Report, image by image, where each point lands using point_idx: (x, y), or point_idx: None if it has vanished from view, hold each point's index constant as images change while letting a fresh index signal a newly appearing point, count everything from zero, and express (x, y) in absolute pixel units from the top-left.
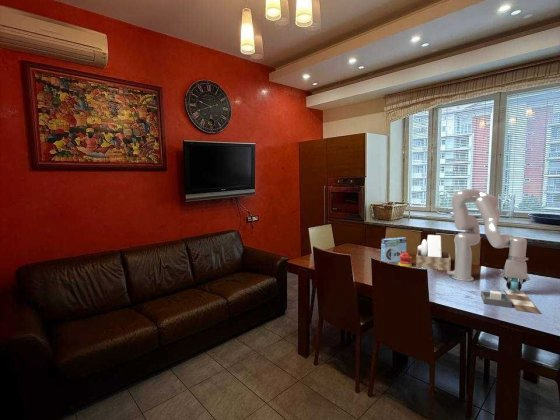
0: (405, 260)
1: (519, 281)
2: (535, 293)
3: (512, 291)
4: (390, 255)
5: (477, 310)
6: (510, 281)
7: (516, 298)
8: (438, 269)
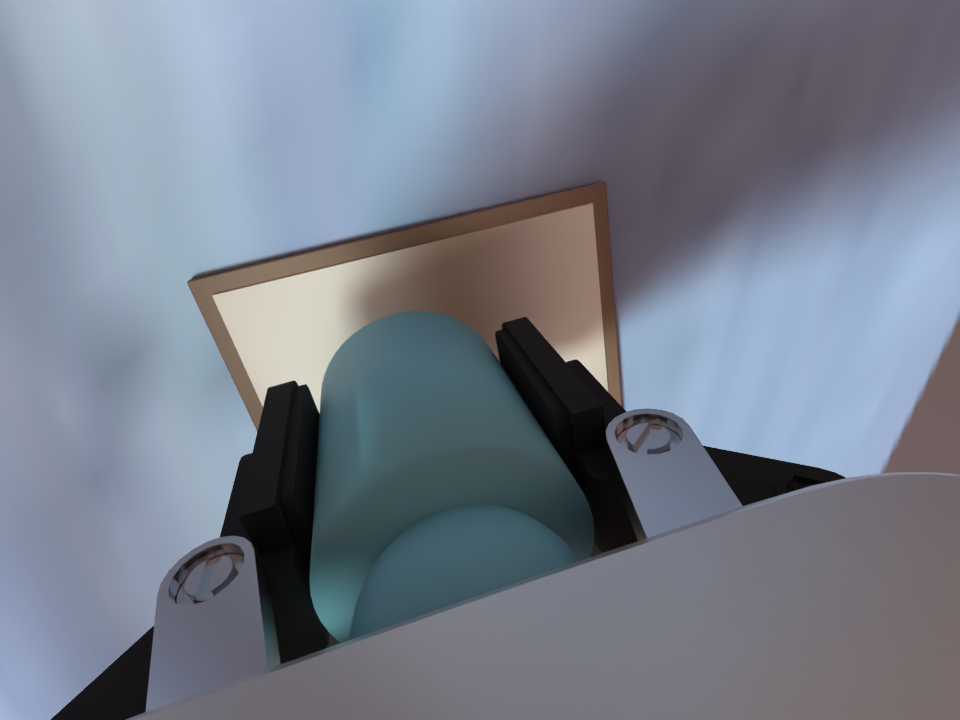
0: None
1: (619, 491)
2: (802, 98)
3: (388, 308)
4: None
5: None
6: (344, 627)
7: None
8: None
